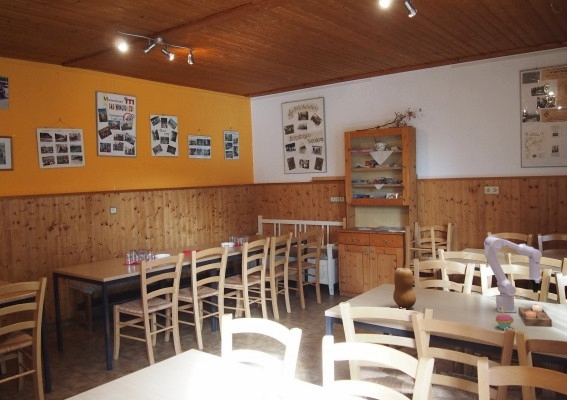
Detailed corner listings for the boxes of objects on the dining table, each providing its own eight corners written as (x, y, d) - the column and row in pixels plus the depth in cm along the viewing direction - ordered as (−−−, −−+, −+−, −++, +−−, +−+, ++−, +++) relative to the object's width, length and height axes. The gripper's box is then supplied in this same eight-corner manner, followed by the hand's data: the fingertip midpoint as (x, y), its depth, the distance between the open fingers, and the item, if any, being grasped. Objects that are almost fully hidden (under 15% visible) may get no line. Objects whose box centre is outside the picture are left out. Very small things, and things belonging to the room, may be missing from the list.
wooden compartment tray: (526, 325, 246) (526, 319, 246) (518, 313, 267) (518, 307, 267) (551, 326, 243) (551, 319, 242) (542, 313, 264) (541, 307, 263)
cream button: (533, 315, 257) (533, 306, 257) (531, 313, 262) (531, 304, 262) (543, 316, 256) (543, 307, 256) (541, 313, 260) (541, 304, 260)
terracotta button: (527, 322, 249) (526, 313, 249) (525, 320, 254) (525, 311, 254) (537, 323, 248) (536, 313, 248) (535, 320, 252) (534, 311, 252)
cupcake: (492, 326, 249) (491, 303, 248) (507, 324, 249) (507, 302, 249) (501, 331, 240) (500, 308, 239) (517, 329, 241) (516, 306, 240)
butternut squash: (420, 309, 285) (419, 268, 284) (402, 313, 280) (400, 271, 278) (406, 304, 298) (404, 265, 296) (388, 307, 293) (387, 268, 291)
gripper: (545, 272, 265) (546, 295, 266) (539, 266, 279) (540, 289, 280) (531, 271, 267) (532, 295, 268) (526, 266, 281) (527, 289, 282)
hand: (535, 292), depth 274 cm, fingers closed
